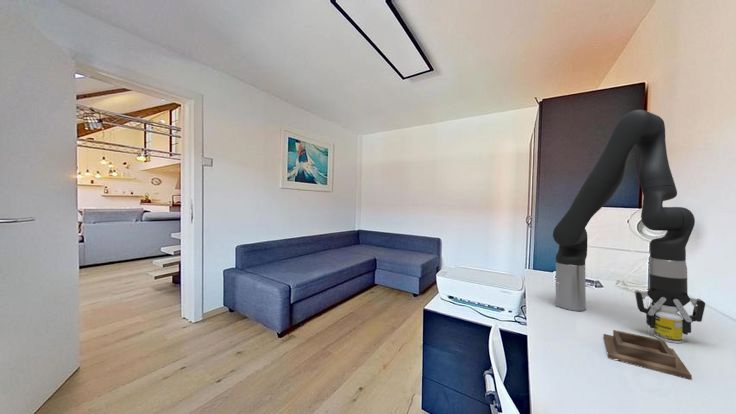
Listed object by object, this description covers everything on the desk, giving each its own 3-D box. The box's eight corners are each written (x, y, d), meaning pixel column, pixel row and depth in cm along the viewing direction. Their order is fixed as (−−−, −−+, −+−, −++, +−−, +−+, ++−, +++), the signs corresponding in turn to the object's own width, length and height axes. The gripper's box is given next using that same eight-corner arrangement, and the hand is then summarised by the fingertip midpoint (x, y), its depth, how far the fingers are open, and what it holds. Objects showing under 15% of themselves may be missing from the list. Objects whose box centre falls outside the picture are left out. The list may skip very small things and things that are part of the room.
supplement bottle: (648, 334, 81) (648, 301, 81) (664, 333, 81) (664, 300, 81) (671, 344, 75) (670, 308, 75) (688, 343, 75) (688, 307, 75)
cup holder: (608, 358, 68) (608, 344, 68) (603, 337, 79) (603, 325, 79) (691, 379, 60) (691, 364, 60) (673, 352, 71) (672, 339, 71)
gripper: (635, 272, 79) (636, 328, 79) (711, 280, 71) (711, 343, 71) (631, 268, 85) (631, 319, 85) (700, 275, 77) (700, 332, 77)
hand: (668, 330), depth 78 cm, fingers open, 6 cm apart
